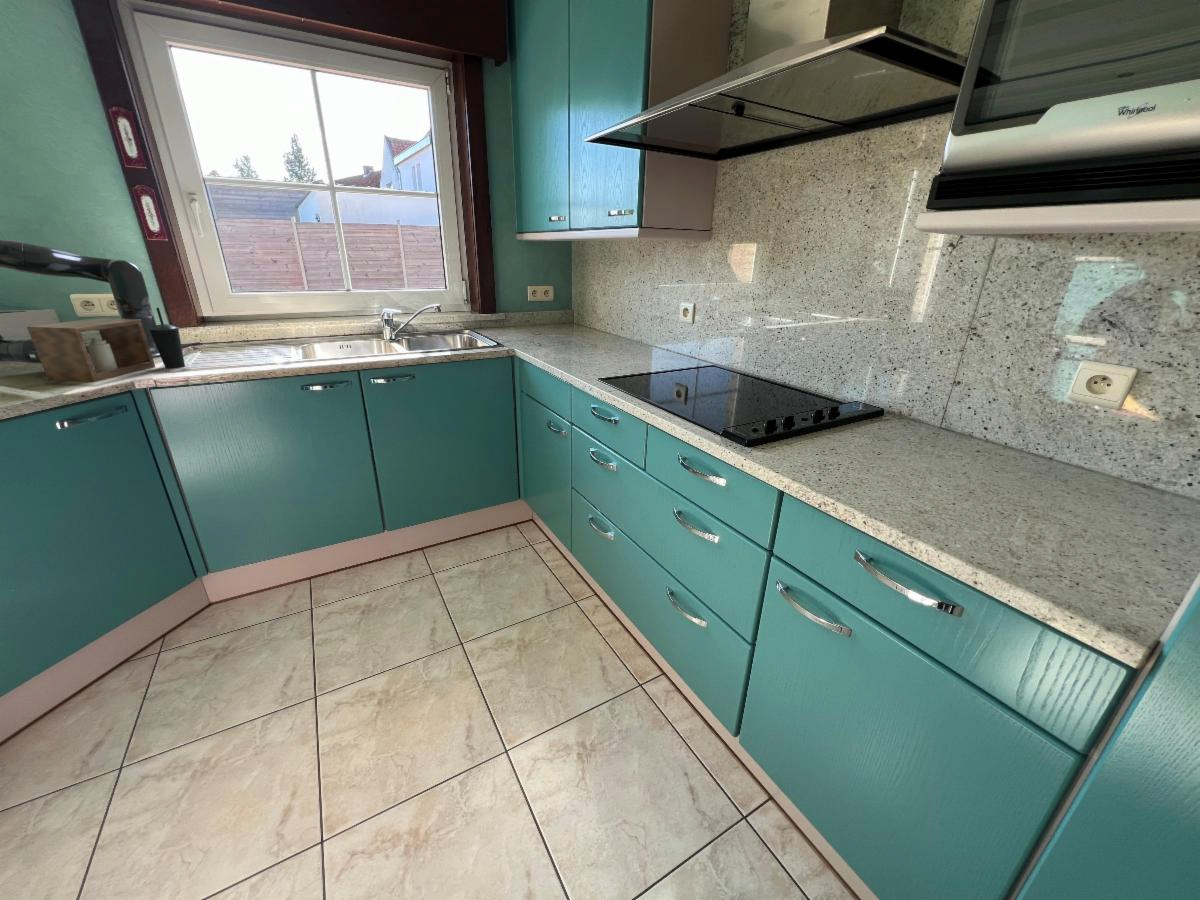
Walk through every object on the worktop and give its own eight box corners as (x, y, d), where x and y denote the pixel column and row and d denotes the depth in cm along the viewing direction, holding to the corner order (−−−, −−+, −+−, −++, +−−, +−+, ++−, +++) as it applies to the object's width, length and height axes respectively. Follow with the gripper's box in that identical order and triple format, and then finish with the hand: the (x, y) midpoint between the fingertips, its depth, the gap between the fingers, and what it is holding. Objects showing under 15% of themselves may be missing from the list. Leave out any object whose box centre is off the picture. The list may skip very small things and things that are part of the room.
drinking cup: (174, 367, 165) (156, 306, 158) (196, 368, 165) (179, 306, 158) (154, 372, 158) (134, 308, 151) (177, 373, 158) (158, 309, 151)
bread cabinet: (49, 383, 143) (26, 326, 137) (115, 369, 161) (98, 318, 155) (95, 385, 142) (74, 328, 136) (156, 370, 161) (140, 319, 155)
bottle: (112, 370, 154) (100, 335, 150) (123, 372, 153) (111, 336, 149) (92, 374, 150) (78, 337, 146) (103, 375, 148) (90, 339, 144)
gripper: (3, 342, 142) (56, 344, 141) (56, 335, 155) (105, 336, 154) (14, 368, 144) (66, 370, 144) (65, 358, 158) (113, 360, 157)
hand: (86, 352), depth 149 cm, fingers open, 8 cm apart
